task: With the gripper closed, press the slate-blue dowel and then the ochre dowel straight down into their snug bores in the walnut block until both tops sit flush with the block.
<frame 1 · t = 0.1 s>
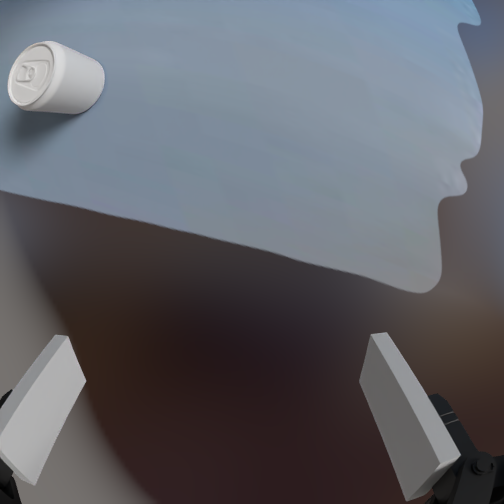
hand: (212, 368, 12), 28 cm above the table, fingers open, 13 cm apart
beverage can: (82, 86, 31), on the table
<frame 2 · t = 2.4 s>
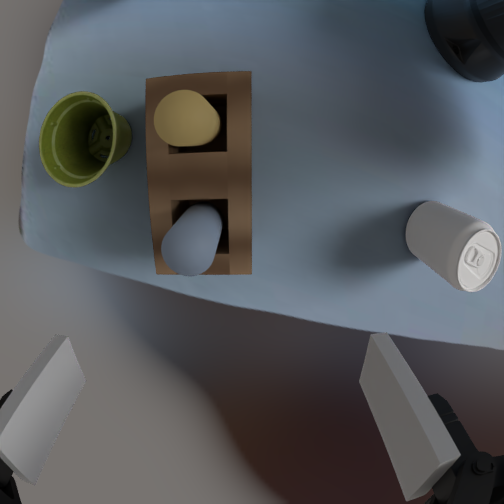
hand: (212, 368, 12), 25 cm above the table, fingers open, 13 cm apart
blue peg: (196, 234, 24), point 11 cm above the table, slide at 0.0 cm
plant pot: (111, 138, 32), on the table
ochre peg: (192, 121, 21), point 11 cm above the table, slide at 0.0 cm
walnut block: (210, 167, 33), on the table
beverage can: (426, 228, 36), on the table
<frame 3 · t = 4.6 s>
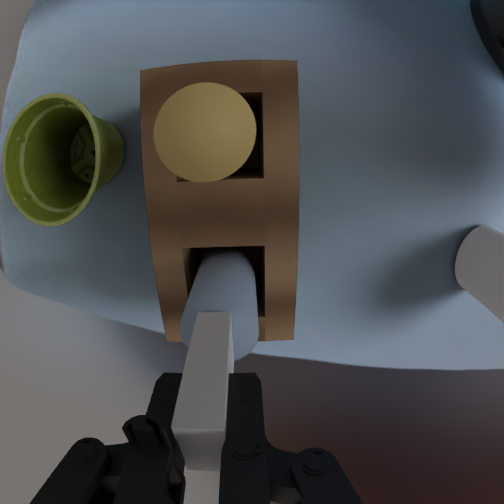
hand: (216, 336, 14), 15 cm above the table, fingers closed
blue peg: (223, 293, 18), point 10 cm above the table, slide at 0.8 cm, touching gripper
plant pot: (98, 152, 24), on the table
ochre peg: (214, 135, 14), point 11 cm above the table, slide at 0.0 cm
walnut block: (229, 190, 26), on the table
beverage can: (474, 255, 29), on the table
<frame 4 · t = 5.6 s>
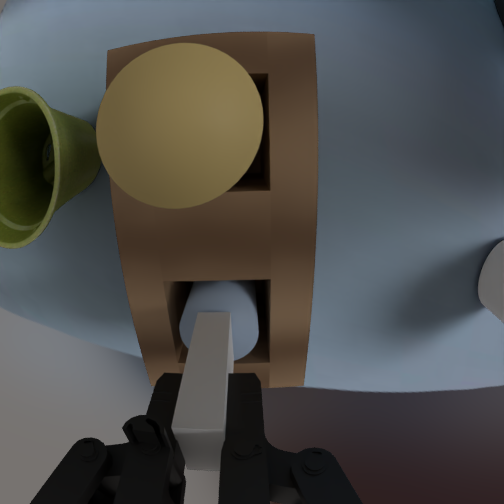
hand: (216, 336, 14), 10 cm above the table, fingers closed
blue peg: (223, 293, 18), point 6 cm above the table, slide at 5.4 cm, touching gripper
plant pot: (73, 155, 20), on the table
ochre peg: (200, 130, 10), point 11 cm above the table, slide at 0.0 cm
walnut block: (225, 200, 22), on the table
beverage can: (497, 270, 24), on the table
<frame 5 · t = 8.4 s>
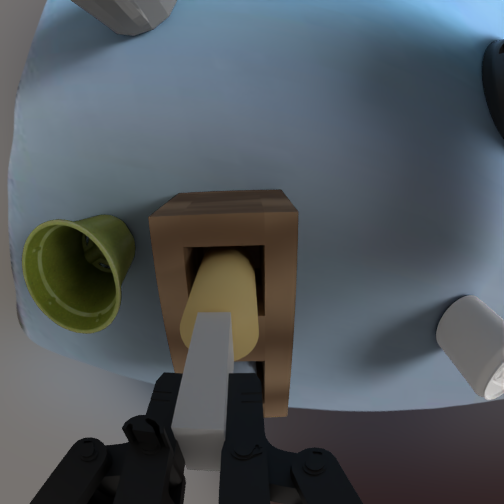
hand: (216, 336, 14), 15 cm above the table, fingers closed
blue peg: (234, 357, 26), point 5 cm above the table, slide at 5.5 cm
plant pot: (109, 243, 28), on the table
ochre peg: (224, 294, 18), point 10 cm above the table, slide at 0.6 cm, touching gripper
walnut block: (233, 284, 29), on the table
beverage can: (456, 319, 32), on the table
water bottle: (146, 14, 20), on the table
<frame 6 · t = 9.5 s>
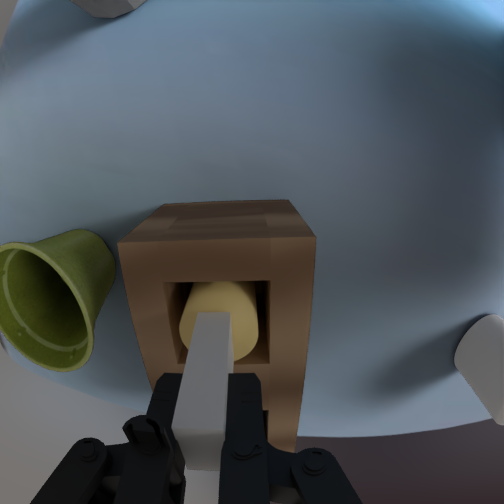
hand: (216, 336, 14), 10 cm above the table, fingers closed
plant pot: (87, 262, 23), on the table
ochre peg: (223, 294, 18), point 6 cm above the table, slide at 5.5 cm, touching gripper
walnut block: (231, 310, 25), on the table
beverage can: (475, 339, 28), on the table
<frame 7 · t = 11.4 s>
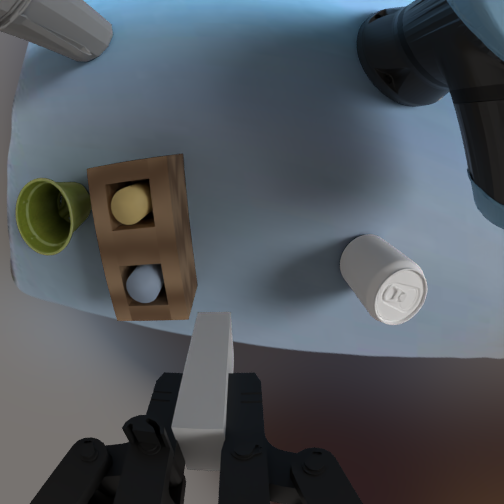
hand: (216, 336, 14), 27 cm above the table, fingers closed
blue peg: (151, 273, 35), point 5 cm above the table, slide at 5.5 cm
plant pot: (75, 202, 37), on the table
ochre peg: (139, 199, 32), point 5 cm above the table, slide at 5.5 cm
walnut block: (156, 225, 39), on the table
beverage can: (363, 259, 42), on the table
water bottle: (95, 45, 30), on the table
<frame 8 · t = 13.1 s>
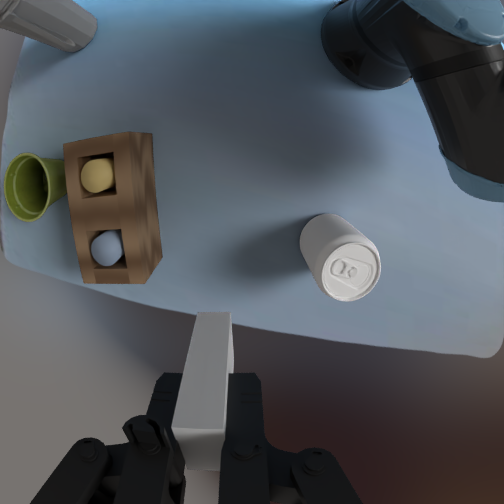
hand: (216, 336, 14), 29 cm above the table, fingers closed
blue peg: (116, 240, 37), point 5 cm above the table, slide at 5.5 cm
plant pot: (58, 178, 39), on the table
ochre peg: (108, 172, 34), point 5 cm above the table, slide at 5.5 cm
walnut block: (127, 199, 41), on the table
beverage can: (325, 239, 44), on the table
water bottle: (82, 37, 31), on the table
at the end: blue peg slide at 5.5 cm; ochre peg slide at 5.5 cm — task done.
